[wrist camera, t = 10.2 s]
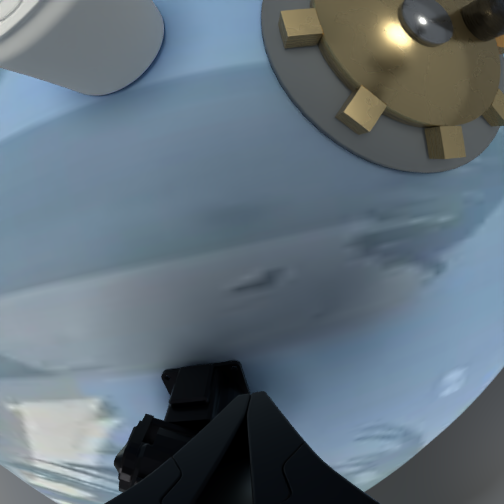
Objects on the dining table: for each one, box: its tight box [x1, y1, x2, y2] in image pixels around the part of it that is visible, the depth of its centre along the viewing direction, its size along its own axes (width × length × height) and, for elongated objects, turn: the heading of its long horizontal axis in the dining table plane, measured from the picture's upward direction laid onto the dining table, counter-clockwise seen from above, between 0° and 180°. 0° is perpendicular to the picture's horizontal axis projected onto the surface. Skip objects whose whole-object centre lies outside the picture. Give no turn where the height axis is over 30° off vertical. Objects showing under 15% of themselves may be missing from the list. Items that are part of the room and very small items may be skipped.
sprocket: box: [278, 0, 504, 159], centre depth 11 cm, size 18×18×10 cm
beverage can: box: [0, 0, 164, 96], centre depth 11 cm, size 8×8×12 cm
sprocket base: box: [261, 0, 504, 173], centre depth 16 cm, size 20×20×1 cm
